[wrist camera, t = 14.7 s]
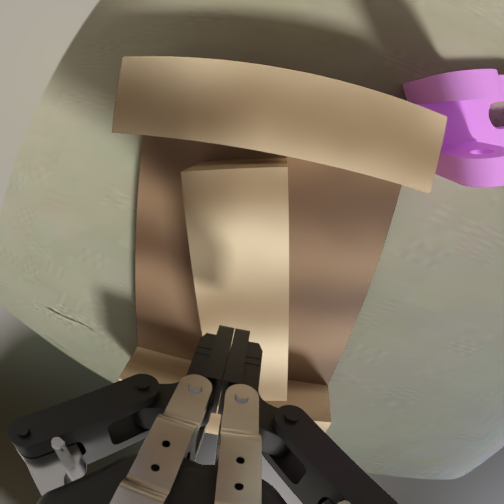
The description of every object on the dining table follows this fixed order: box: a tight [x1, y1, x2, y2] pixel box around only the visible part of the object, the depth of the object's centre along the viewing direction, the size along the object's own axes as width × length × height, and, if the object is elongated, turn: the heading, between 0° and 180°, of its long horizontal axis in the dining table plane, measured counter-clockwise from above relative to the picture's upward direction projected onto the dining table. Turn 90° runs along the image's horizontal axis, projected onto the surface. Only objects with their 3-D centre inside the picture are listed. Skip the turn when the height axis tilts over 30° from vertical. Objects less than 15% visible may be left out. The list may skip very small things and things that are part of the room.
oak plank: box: [181, 158, 289, 401], centre depth 19 cm, size 15×5×4 cm, turn 3°
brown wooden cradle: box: [112, 56, 447, 435], centre depth 19 cm, size 25×16×5 cm, turn 170°
